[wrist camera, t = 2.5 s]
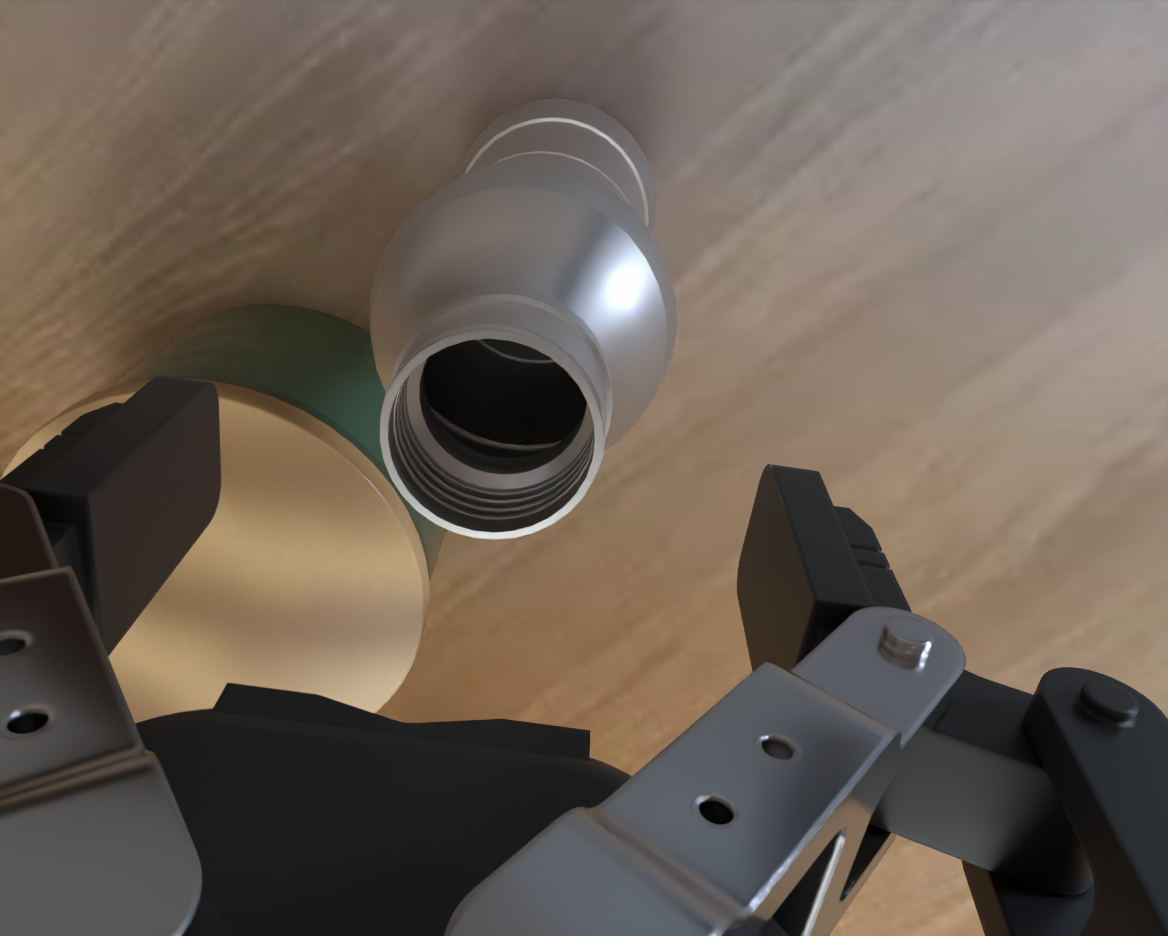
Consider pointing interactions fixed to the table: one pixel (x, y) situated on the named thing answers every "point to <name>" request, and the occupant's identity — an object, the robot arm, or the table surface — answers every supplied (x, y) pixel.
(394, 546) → the crock
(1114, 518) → the table surface
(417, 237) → the silver metal bottle
